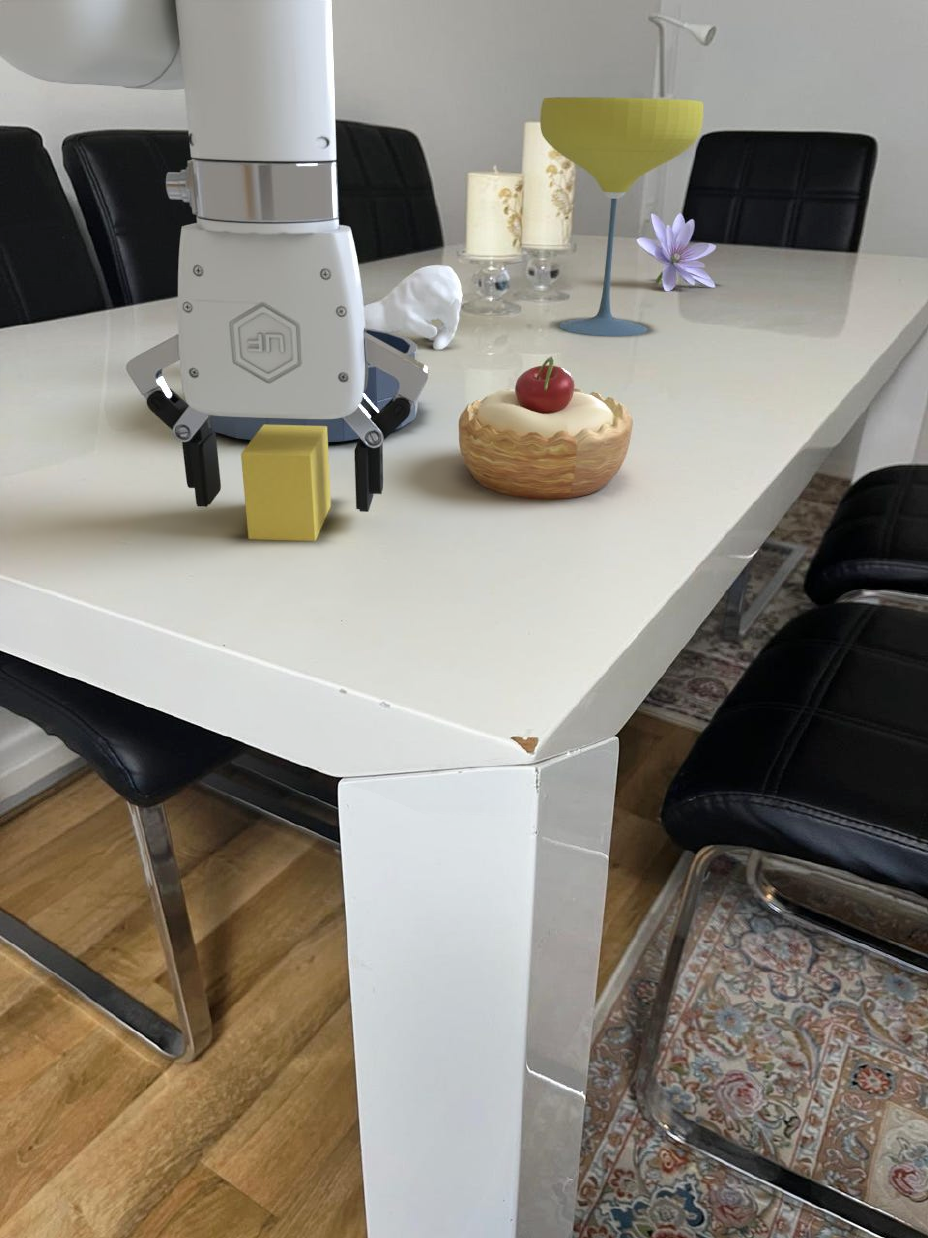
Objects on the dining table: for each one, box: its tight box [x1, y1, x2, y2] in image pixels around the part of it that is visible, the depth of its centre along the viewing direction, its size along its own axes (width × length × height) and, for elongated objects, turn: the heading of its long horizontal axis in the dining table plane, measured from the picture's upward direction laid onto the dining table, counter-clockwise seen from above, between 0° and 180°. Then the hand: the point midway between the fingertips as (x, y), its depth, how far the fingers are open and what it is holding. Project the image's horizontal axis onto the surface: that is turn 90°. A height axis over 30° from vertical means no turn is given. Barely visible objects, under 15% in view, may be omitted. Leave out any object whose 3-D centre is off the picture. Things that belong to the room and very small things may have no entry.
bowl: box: [191, 328, 419, 443], centre depth 80 cm, size 18×18×6 cm
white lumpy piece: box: [364, 264, 464, 351], centre depth 106 cm, size 6×8×12 cm
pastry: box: [458, 356, 634, 500], centre depth 66 cm, size 12×12×9 cm
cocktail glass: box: [539, 96, 704, 337], centre depth 113 cm, size 18×18×25 cm
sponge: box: [240, 424, 332, 542], centre depth 58 cm, size 4×6×6 cm, turn 178°
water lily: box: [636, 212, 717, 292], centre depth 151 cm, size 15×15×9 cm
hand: (287, 501), depth 59 cm, fingers open, 9 cm apart
